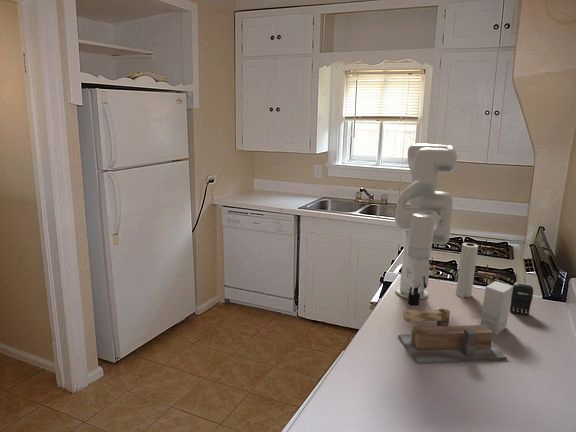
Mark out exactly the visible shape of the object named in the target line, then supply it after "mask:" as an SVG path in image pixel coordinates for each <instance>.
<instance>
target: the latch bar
mask: <svg viewBox="0 0 576 432" xmlns="http://www.w3.org/2000/svg"><path fill="white" fill-rule="evenodd" d="M450 315H451V311H450V310H449V309H447V308H439V309H413V310H412V309H407V310H405V309H404V311H403V320H404V321H405V322H406V323H407V322H408V323H409V322H410V323H411V322H412V323H414V322H437V321H444V322H447V321H449V322H450V317H451V316H450Z"/></svg>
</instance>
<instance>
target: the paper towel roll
mask: <svg viewBox="0 0 576 432" xmlns="http://www.w3.org/2000/svg"><path fill="white" fill-rule="evenodd" d="M478 248H479V245H478V244H476V243H474V242H473V243H472V242H463V243H462V244H461V252H460V258H459V259H460V260H459V265H458V266H459V267H458V274H457V282H456V283H457V284H456V290H455V294H456V295H457V296H458V297H461V298H462V299H464V298H470V297H472V295H473V288H474V287H473V286H474V280H475V273H476V272H475V271H476V266H477V257H478V251H479V249H478Z"/></svg>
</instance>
